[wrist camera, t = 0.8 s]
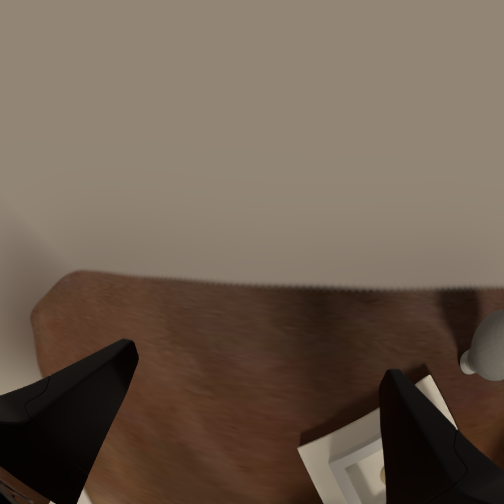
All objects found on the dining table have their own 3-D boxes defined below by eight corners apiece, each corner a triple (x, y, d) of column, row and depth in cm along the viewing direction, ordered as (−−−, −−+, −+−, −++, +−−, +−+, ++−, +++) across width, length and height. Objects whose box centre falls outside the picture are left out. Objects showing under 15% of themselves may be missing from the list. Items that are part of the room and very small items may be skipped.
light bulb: (434, 366, 20) (478, 338, 13) (466, 325, 21) (510, 282, 13) (465, 402, 17) (519, 389, 9) (496, 359, 18) (548, 328, 10)
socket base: (470, 474, 12) (490, 479, 8) (347, 544, 12) (348, 563, 8) (425, 376, 20) (440, 369, 17) (299, 446, 20) (292, 453, 17)
